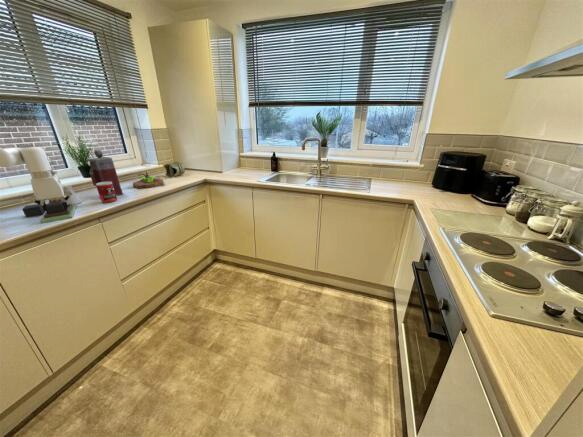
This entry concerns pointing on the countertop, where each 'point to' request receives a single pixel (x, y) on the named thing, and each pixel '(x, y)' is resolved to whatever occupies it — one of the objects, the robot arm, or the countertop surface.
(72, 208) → the joiner board
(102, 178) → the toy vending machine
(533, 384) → the countertop surface
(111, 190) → the canned food
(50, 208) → the black square block
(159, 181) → the plant
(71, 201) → the flask
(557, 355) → the countertop surface
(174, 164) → the piston
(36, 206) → the black pad
